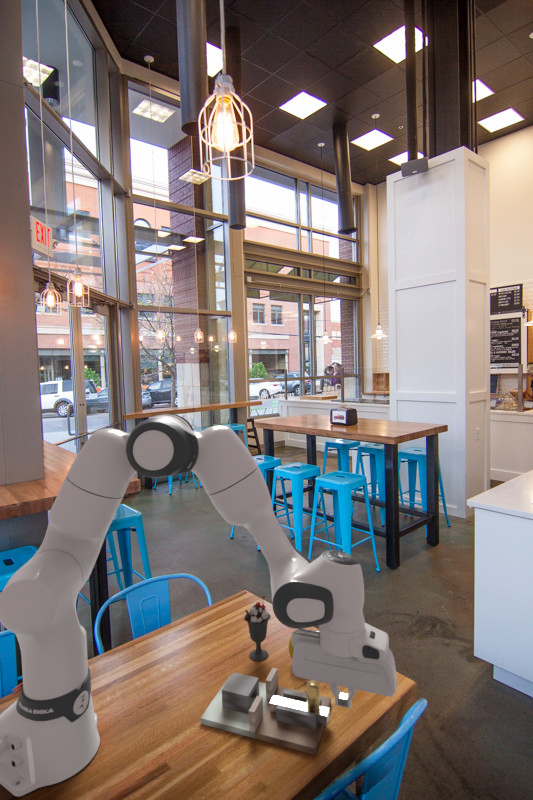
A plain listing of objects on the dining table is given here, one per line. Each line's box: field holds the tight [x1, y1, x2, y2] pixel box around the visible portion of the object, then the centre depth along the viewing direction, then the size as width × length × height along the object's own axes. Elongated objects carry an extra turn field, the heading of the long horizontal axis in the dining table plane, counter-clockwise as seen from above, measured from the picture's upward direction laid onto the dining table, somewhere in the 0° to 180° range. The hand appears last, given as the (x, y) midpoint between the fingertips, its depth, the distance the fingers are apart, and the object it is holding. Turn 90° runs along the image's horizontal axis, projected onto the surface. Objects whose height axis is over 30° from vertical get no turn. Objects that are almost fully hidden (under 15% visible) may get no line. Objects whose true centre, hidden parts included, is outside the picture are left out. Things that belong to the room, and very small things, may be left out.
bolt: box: [270, 680, 331, 726], centre depth 89 cm, size 12×3×7 cm, turn 70°
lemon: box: [288, 632, 298, 660], centre depth 108 cm, size 6×6×8 cm
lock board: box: [199, 667, 332, 756], centre depth 92 cm, size 24×14×5 cm, turn 70°
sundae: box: [243, 595, 272, 662], centre depth 112 cm, size 7×7×15 cm
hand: (343, 704), depth 86 cm, fingers closed
